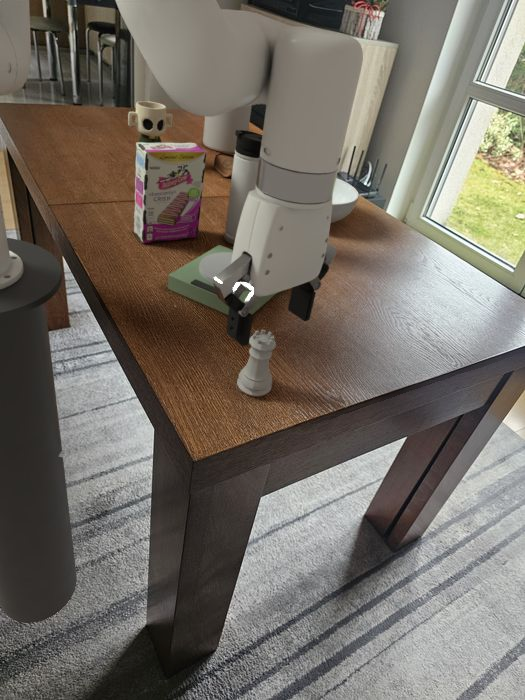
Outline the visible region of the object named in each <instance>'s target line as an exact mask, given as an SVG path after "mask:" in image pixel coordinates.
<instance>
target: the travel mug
mask: <svg viewBox="0 0 525 700" xmlns="http://www.w3.org/2000/svg"><path fill="white" fill-rule="evenodd" d="M235 135H236V136H237V141H236V148H235V153H233V154H234V162H233V170H232V177H231V179H230V187H229V197H228V203H227V211H226V212H227V213H226V221H225V227H224V228H225V230H224V240H225V241H226V242H227V243H228V244H229V245H231V246H234V243H235V238H236V233H237V229H238V224H239V221H240V217H241V213H242V210H243V207H244V204H245V201H246V199H247V196H248V193H249V191H252V190H255V187H256V179H257V172H258V164H259V157H260V149H261V142H262V135H263V134H261V133H257V132H254V131H251V130H250V131H249V130H248V131H244V130H236V132H235Z"/></svg>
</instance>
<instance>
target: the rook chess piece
mask: <svg viewBox="0 0 525 700" xmlns="http://www.w3.org/2000/svg"><path fill="white" fill-rule="evenodd" d="M248 344H250V346H251V347H250V348H249V350H248V352H249V357H248V360H247V362H246V365H245V366H243V368H242V369H241V370H240V372H239V373H238V378H237V379H236V384H237V386H238V389H239V390H240V391H241V392H242V393H243V394H245V395H247V396H250V397H255V398H257V397H263V396H265V395H266V394H268V393H269V392H270V391H271V390H272V383H273V375H272V374H271V370H270V358H271V357H273V350H274V349H275V348H276V347H277V342H276V341H275V335H273V333H272V332H271V331H268V332H267V333H266V329H261V330H260V331H259V330H255V331H254V333H252V335H250V340H249V343H248Z"/></svg>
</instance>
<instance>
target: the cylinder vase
mask: <svg viewBox="0 0 525 700" xmlns="http://www.w3.org/2000/svg"><path fill="white" fill-rule="evenodd" d="M252 106H253V105H251V106H245V107H239V108H237V109H234V110H232V111H229V112H227V113H224V114H220V115H216V116H210V117H207V116H204V124H203V134H202V144H203V145H204V146H205V147H206V148H207V149H210V150H212V151H215V152H219V153H230V154H235V148H236V141H237V136H236V135H235V132H236V130H244V131H249V129H250V121H251V115H252V114H251V113H252Z"/></svg>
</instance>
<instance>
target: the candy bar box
mask: <svg viewBox="0 0 525 700" xmlns="http://www.w3.org/2000/svg"><path fill="white" fill-rule="evenodd" d="M206 160H207V151H206V150H205V149H204V148H203V147H202V146H199V145H198V144H197V143H195V142H161V143H154V142H139V141H138V142H135V165H134V166H135V167H134V168H135V169H134V208H133V210H134V211H133V212H134V213H133V233H134V235H135V236H137V238H138V240H140V241H141V243H142V244H150V243H161V242H167V241H179V240H187V239H197V238H198V237H199V236H198V235H199V225H200V217H201V207H202V197H203V190H204V189H203V188H204V179H205V168H206V162H207V161H206Z"/></svg>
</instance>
